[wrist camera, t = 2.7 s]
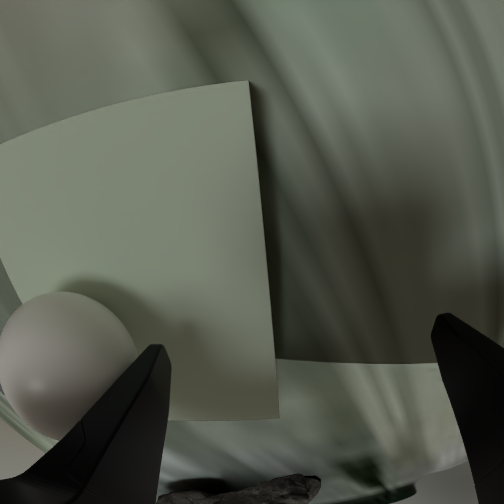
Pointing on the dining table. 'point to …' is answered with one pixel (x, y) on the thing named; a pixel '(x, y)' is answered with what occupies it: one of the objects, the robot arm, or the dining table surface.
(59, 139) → the panel
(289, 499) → the stone
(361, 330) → the dining table surface
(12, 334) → the ball
